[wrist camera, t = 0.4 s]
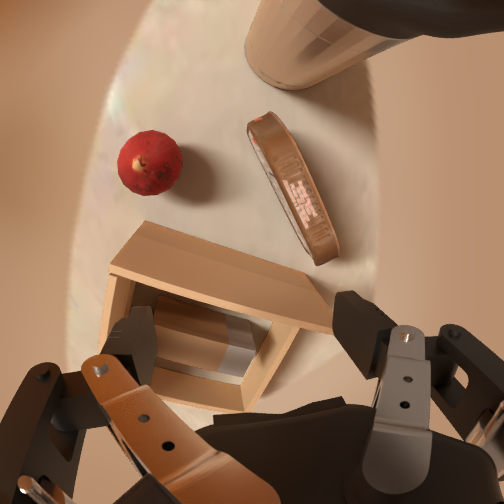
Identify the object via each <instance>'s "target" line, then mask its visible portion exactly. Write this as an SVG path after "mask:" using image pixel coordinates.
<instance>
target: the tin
mask: <svg viewBox="0 0 504 504" xmlns="http://www.w3.org/2000/svg"><path fill="white" fill-rule="evenodd" d="M247 134H248V137H249V139H250V142H251V144H252V146H253V148H254V150H255V152H256V154H257V156H258V158H259V160H260V162H261V164H262V166H263V168H264V170H265V172H266V174H267V176H268V178H269V180H270V182H271V185H272V187H273V189H274V191H275V193H276V195H277V197H278V199H279V201H280V203H281V205H282V207H283V209H284V211H285V213H286V215H287V217H288V219H289V221H290V223H291V224H292V226H293V228H294V230H295V232H296V234H297V236H298V238H299V240H300V242H301V244H302V245H303V247H304V249H305V250H306V252H307V253H308V254H309V255H310V256H311V257H312V259H313V260H314V264H315V265H316V266H319V265H322V264H324V263H326V262H328V261H330V260H332V259H334V258H336V257H340V256H341V249H340V245H339V241H338V238H337V236H336V233H335V230H334V228H333V225H332V223H331V220H330V218H329V216H328V213H327V211H326V208H325V206H324V204H323V201H322V199H321V197H320V194H319V192H318V190H317V187H316V185H315V183H314V181H313V179H312V176H311V174H310V172H309V170H308V167H307V165H306V163H305V161H304V159H303V156H302V154H301V152H300V150H299V148H298V146H297V144H296V143H295V141H294V139H293V138H292V136H291V134H290V133H289V131H288V130H287V128H286V127H285V125H284V124H283V122H282V121H281V120H280V119H279V118H278V116H277V115H276V114H274V113H273V112H271V111H270V112H268V113H267V114H265V115H263V116H261V117H259V118H257V119H255V120H253V121H251V122H249V123H248V125H247Z"/></svg>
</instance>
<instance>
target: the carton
mask: <svg viewBox="0 0 504 504" xmlns="http://www.w3.org/2000/svg"><path fill="white" fill-rule="evenodd" d="M108 272H111V273H110V274H109V278H108V283H107V289H106V294H105V301H104V307H103V314H102V321H101V328H100V337H99V345H98V355H99V354H100V352H101V350H102V348H103V346H104V344H105V342H106V340H107V338H108V336H109V334H110V332H111V330H112V328H113V326H114V324H115V323H116V322H118V321H119V320H120V319H121V318H128V316H129V312H130V307H131V303H132V298H133V294H134V289H135V285H136V281H137V282H140V283H143V284H146V285H149V286H152V287H155V288H158V289H161V290H165V291H168V292H171V293H174V294H177V295H181V296H184V297H187V298H191V299H194V300H197V301H201V302H204V303H207V304H211V305H214V306H218V307H221V308H225V309H229V310H232V311H236V312H240V313H243V314H247V315H251V316H255V317H258V318H262V319H266V320H270V321H274V322H273V324H272V326H271V328H270V330H269V332H268V334H267V336H266V338H265V340H264V342H263V344H262V345H261V347H260V349H259V351H258V353H257V355H256V357H255V359H254V361H253V363H252V365H251V367H250V368H249V370H248V372H247V374H246V376H245V378H244V380H243V382H242V383H241V385H240V386H238V385H233V384H228V383H223V382H218V381H213V380H208V379H204V378H199V377H195V376H191V375H187V374H183V373H179V372H175V371H171V370H167V369H163V368H160V367H156V366H154V371H153V376H152V381H151V386H150V388H151V389H152V390H153V391H154V392H155V394H156V395H157V396H158V397H159V398H160V399H162V400H166V401H170V402H174V403H178V404H183V405H187V406H192V407H197V408H202V409H207V410H213V411H218V412H224V413H231V414H234V413H244V412H249V413H250V412H251V411H252V409H253V407H254V406H255V404H256V403H257V401H258V399H259V398H260V396H261V395H262V393H263V391H264V390H265V388H266V386H267V385H268V383H269V381H270V380H271V378H272V376H273V375H274V373H275V371H276V370H277V368H278V366H279V364H280V363H281V361H282V359H283V358H284V356H285V354H286V352H287V351H288V349H289V347H290V345H291V343H292V342H293V340H294V338H295V336H296V334H297V333H298V331H299V329H300V328H303V329H307V330H312V331H316V332H320V333H325V334H330V335H334V333H333V330H332V320H333V312H332V311H331V309H330V308H329V307H328V305H327V304H326V302H325V301H324V300H323V298H322V297H321V296H320V294H319V293H318V291H317V290H316V289H315V287H314V286H313V285H312V283H311V282H310V281H309V279H308V278H307V276H306V275H305V274H304V273H302V272H299V271H296V270H293V269H290V268H287V267H284V266H281V265H278V264H275V263H272V262H269V261H266V260H263V259H260V258H257V257H254V256H251V255H247V254H244V253H241V252H238V251H235V250H232V249H229V248H226V247H223V246H220V245H217V244H214V243H211V242H208V241H205V240H202V239H199V238H196V237H193V236H190V235H187V234H184V233H181V232H178V231H175V230H172V229H169V228H166V227H163V226H160V225H157V224H154V223H151V222H148V221H144V222H143V224H142V225H141V226H140V227H139V228H138V229H137V231H136V232H135V233H134V234H133V235H132V237H131V238H130V239H129V240H128V242H127V243H126V244H125V245H124V246H123V248H122V249H121V250H120V251H119V253H118V254H117V255H116V257H115V258H114V259H113V260H112V262H111V263H110V265H109V270H108Z"/></svg>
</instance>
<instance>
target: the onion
mask: <svg viewBox="0 0 504 504" xmlns="http://www.w3.org/2000/svg"><path fill="white" fill-rule="evenodd" d="M117 164H118V175H119V177H120V178H121V180H122V182H123V184H124V185H125V186H126V187H127V188H129V189H130V190H131V191H132V192H134V193H137V194H139V195H142V196H149V195H158V194H160V193H162V192H164V191H166V190H168V189H170V188H171V187H172V185H173V184H174V183H175V182H176V181H177V179H178V178H179V175H180V172H181V168H182V165H183V164H182V157H181V151H180V149H179V148H178V146H177V144H176V142H175V141H174V140H173V139H172V138H170V137H169V136H168V135H166V134H165V133H162V132H158V131H154V130H150V131H144V132H139V133H138V134H136V135H135V136H133V137H132V138H130V139H129V140H128V141H127V142H126V143H125V145H124V146H123V147H122V149H121V151H120V154H119V157H118V161H117Z"/></svg>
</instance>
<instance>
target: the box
mask: <svg viewBox="0 0 504 504" xmlns="http://www.w3.org/2000/svg"><path fill="white" fill-rule="evenodd" d="M153 319H154V325H155V330H156V335H157V342H158V351H157V356H156V357H160V358H163V359H167V360H170V361H174V362H178V363H182V364H186V365H189V366H194V367H198V368H202V369H206V370H211V371H215V372H220V373H224V374H229V375H234V376H239V377H243V376H244V374H245V372H246V370H247V368H248V366H249V365H250V363H251V361H252V359H253V357H254V355H255V353H256V347H255V343H254V339H253V335H252V331H251V327H250V323H249V320H246V319H242V318H239V317H235V316H231V315H227V314H224V313H220V312H217V311H213V310H209V309H206V308H202V307H199V306H196V305H192V304H189V303H186V302H182V301H179V300H176V299H172V298H169V297H166V296H163V295H159V299H158V302H157V306H156V309H155V313H154V316H153Z"/></svg>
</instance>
